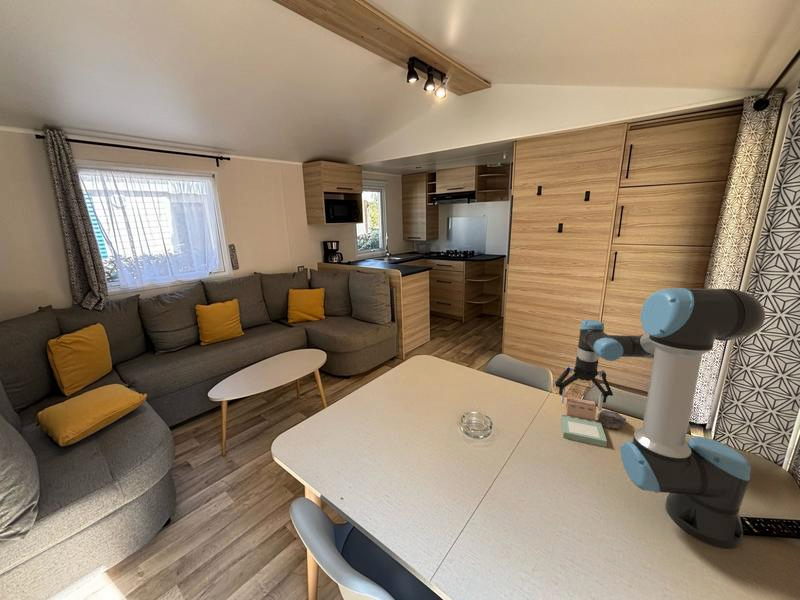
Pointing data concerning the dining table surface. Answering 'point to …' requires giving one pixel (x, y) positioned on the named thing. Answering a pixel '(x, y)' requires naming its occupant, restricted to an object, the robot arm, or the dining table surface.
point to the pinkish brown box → (580, 408)
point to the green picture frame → (583, 430)
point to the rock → (611, 419)
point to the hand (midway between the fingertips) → (580, 405)
